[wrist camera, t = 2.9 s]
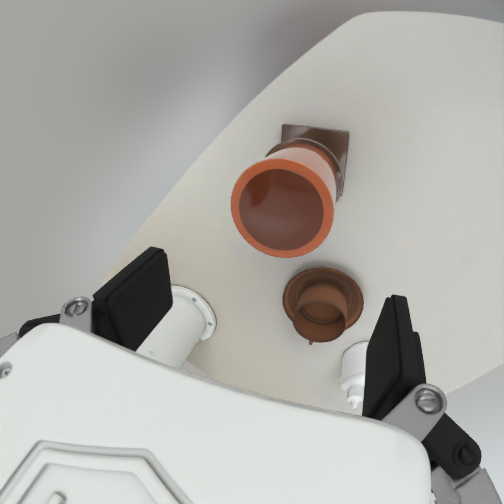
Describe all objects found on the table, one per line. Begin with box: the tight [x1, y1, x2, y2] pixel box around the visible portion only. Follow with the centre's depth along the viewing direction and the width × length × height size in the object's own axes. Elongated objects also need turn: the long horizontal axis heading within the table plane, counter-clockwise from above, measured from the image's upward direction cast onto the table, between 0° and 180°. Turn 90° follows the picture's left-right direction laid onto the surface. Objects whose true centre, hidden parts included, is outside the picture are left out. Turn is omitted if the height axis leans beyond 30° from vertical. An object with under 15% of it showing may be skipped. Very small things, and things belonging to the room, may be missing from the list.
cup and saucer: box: [283, 268, 364, 345], centre depth 40 cm, size 12×12×6 cm
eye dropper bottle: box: [340, 342, 369, 409], centre depth 41 cm, size 4×6×12 cm
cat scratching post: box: [265, 124, 349, 203], centre depth 29 cm, size 8×8×12 cm
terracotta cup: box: [231, 144, 338, 258], centre depth 21 cm, size 6×6×8 cm
